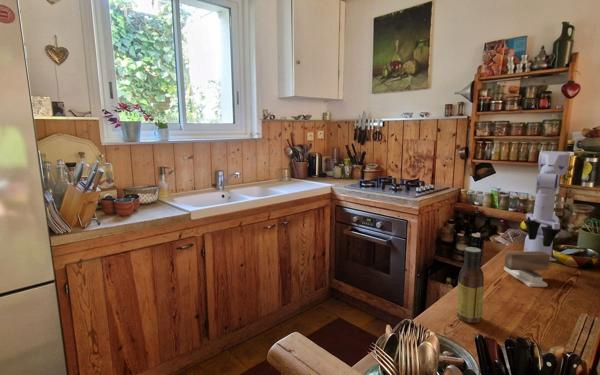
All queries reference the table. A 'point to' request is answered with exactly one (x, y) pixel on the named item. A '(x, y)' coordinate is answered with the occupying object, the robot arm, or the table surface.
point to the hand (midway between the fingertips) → (539, 242)
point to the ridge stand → (528, 277)
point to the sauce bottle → (470, 287)
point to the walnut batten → (527, 260)
